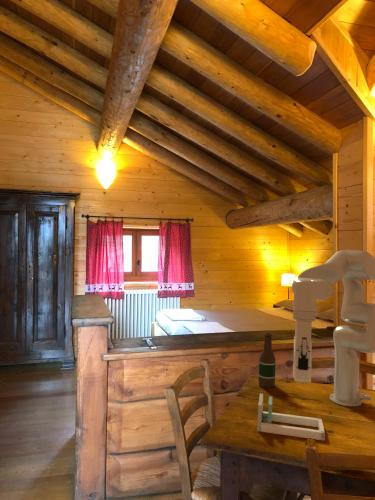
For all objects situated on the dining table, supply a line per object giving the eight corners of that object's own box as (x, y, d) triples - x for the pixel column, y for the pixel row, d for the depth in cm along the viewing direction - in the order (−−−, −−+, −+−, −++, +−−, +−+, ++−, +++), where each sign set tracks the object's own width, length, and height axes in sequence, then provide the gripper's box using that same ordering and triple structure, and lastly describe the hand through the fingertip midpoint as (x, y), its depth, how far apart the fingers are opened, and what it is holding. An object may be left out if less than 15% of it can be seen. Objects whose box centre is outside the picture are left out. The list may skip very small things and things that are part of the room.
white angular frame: (321, 425, 137) (322, 400, 137) (324, 440, 127) (325, 413, 126) (259, 417, 142) (259, 393, 142) (257, 431, 132) (258, 405, 132)
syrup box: (311, 382, 130) (312, 340, 130) (293, 381, 131) (295, 339, 131) (309, 377, 136) (311, 336, 136) (292, 375, 137) (293, 335, 137)
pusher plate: (271, 421, 140) (272, 396, 140) (271, 430, 132) (271, 404, 132) (263, 420, 140) (264, 395, 140) (262, 429, 133) (263, 403, 133)
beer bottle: (262, 389, 172) (264, 335, 172) (254, 382, 179) (256, 331, 179) (278, 387, 174) (279, 335, 174) (269, 381, 181) (271, 331, 181)
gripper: (292, 310, 143) (290, 359, 143) (294, 318, 126) (292, 373, 126) (313, 312, 141) (311, 361, 141) (317, 320, 124) (315, 375, 124)
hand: (302, 366), depth 133 cm, fingers closed on syrup box, 5 cm apart
